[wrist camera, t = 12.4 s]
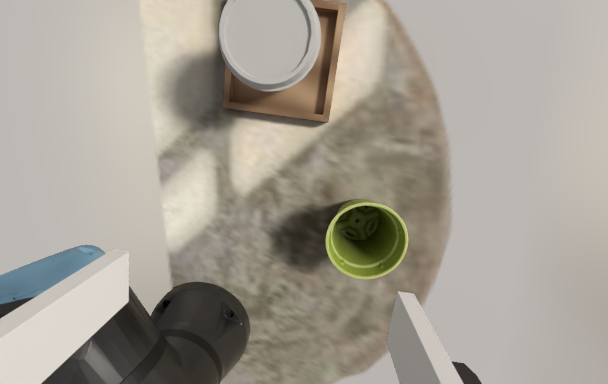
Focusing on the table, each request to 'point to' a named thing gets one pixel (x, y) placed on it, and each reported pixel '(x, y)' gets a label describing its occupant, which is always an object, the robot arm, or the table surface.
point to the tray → (306, 93)
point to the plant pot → (366, 239)
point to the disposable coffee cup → (269, 41)
